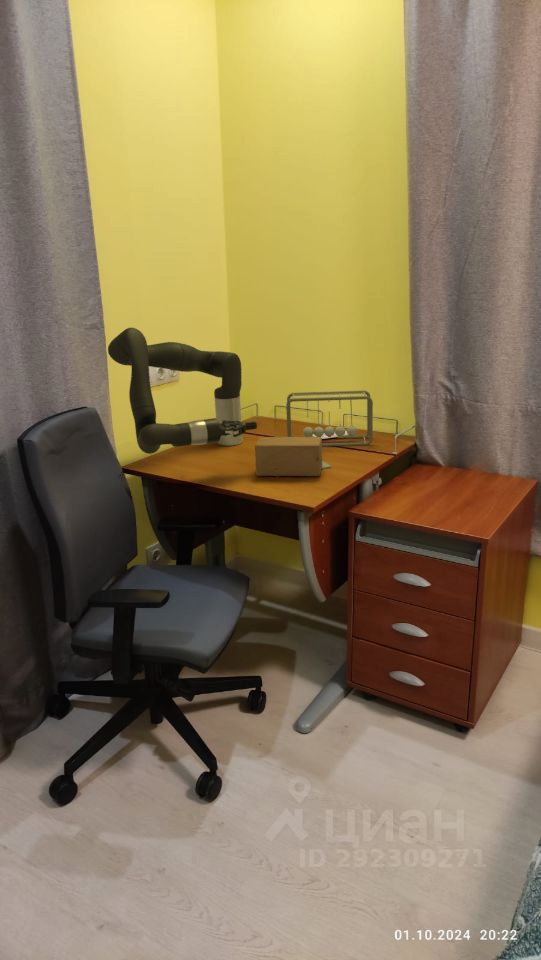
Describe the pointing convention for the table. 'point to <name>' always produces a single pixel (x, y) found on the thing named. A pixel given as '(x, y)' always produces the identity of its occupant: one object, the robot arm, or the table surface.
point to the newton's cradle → (329, 430)
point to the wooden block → (288, 456)
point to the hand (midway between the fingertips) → (255, 424)
